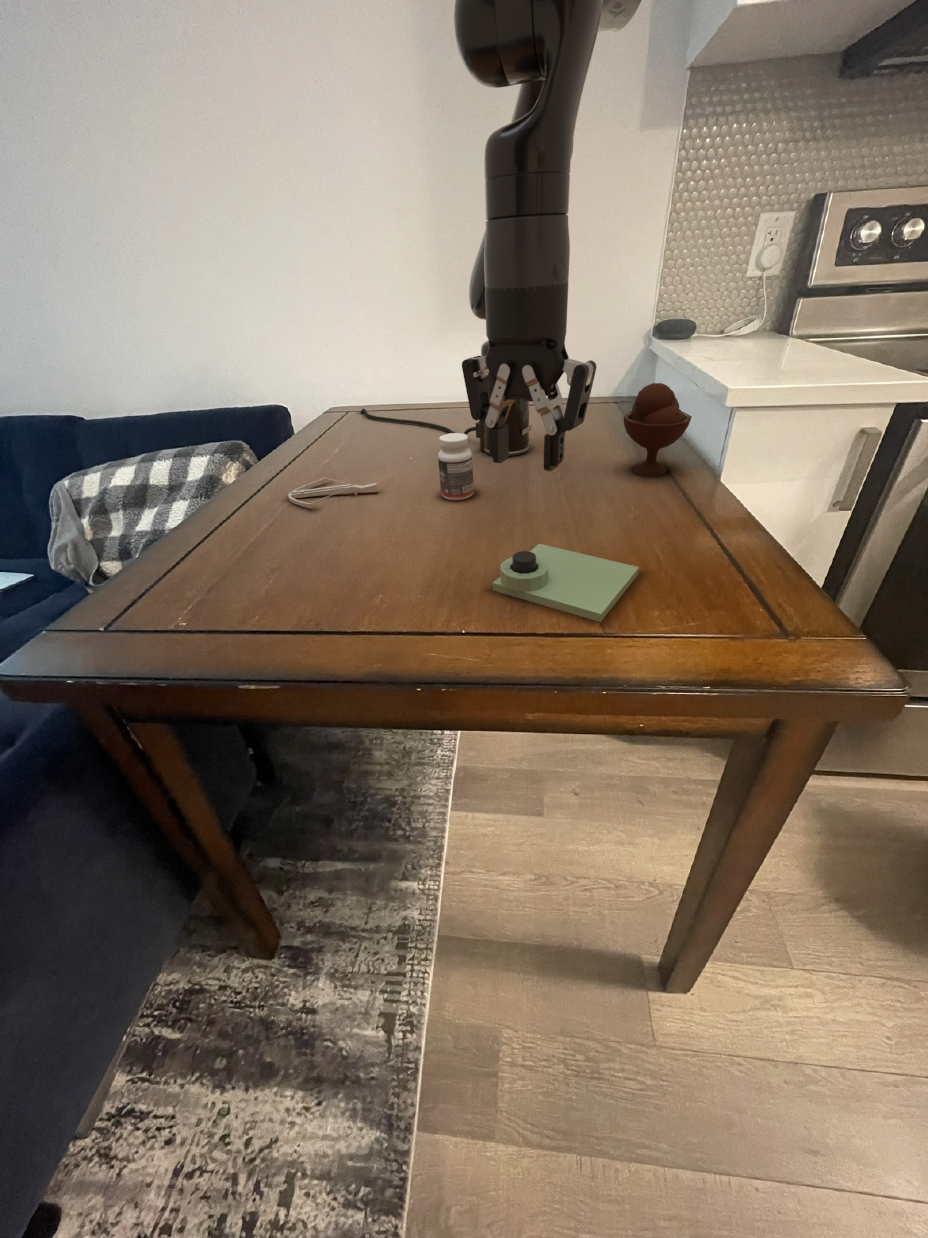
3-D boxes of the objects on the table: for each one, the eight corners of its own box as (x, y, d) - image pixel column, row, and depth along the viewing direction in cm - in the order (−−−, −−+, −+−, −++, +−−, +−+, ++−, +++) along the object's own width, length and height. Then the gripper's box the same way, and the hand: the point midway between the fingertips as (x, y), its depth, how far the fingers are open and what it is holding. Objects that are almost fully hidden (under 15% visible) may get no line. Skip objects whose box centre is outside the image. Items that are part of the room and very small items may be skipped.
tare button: (508, 571, 65) (508, 558, 64) (519, 561, 67) (519, 548, 66) (528, 577, 64) (529, 563, 63) (539, 566, 66) (540, 554, 65)
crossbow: (281, 516, 92) (278, 505, 91) (299, 489, 103) (296, 478, 102) (374, 505, 91) (371, 493, 90) (382, 478, 102) (380, 468, 101)
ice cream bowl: (686, 481, 93) (702, 388, 84) (618, 480, 95) (628, 389, 86) (679, 461, 101) (693, 374, 93) (617, 460, 103) (625, 376, 95)
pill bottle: (440, 490, 96) (435, 433, 90) (472, 487, 96) (469, 430, 91) (442, 502, 91) (437, 443, 86) (475, 499, 91) (472, 440, 86)
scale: (491, 592, 67) (490, 570, 65) (538, 551, 75) (539, 531, 73) (599, 624, 60) (601, 601, 58) (638, 575, 68) (641, 553, 66)
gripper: (618, 274, 48) (602, 463, 57) (481, 279, 55) (487, 446, 64) (583, 281, 43) (571, 486, 52) (437, 285, 50) (450, 466, 59)
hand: (525, 463), depth 58 cm, fingers open, 5 cm apart
